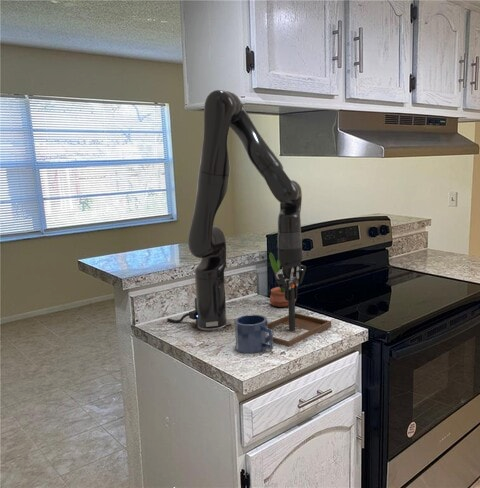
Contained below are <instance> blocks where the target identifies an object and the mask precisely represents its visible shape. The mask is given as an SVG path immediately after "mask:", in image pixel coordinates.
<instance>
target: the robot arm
mask: <svg viewBox="0 0 480 488" xmlns="http://www.w3.org/2000/svg"><path fill="white" fill-rule="evenodd" d="M230 129H231V130H232V132H234V134H235V135H236V136H237V138H238V139H239V141H240V142H241V145H242V147H243V148H244V151H245V153H246V155H247V157H248V159H249V161H250V162H251V163H252V165H253V167H254V168H255V169H256V171H257V172H258V173H259V174H260V176H261V177H262V178H263V180H264V181H265V183H266V185H267V187H268V189H269V190H270V192H271V194H272V195H273V197H274V198H275V199H276V200H277V201H278V202H279V213H278V216H277V241H276V242H277V260H279V261H280V270H279V271H278V273H274V272H273V278H274V279H275V281H276V283H277V285H278V287H279V288H283V289H284V290H285V300H287V301H292V289H291V287H292V283H293V284H294V294H295V299H296V300H297V299H298V295H299V294H298V293H299V292H298V290H299V289H298V288H299V286H300V285H301V284H302V283H303V280H304V278H305V273H306V271H307V266H306V265H303V264H302V263H301V261H302V260H303V237H302V222H301V221H302V220H301V210H302V201H303V200H302V199H303V191H302V187H301V185H300V183H298V181H296V180H293V179H291V178H290V177H289V176H288V174H287V173H286V172H285V170H284V166H283V163H282V162H281V161H280V160H279V158H278V157H277V156H276V154H275V153H274V152H273V151H272V149H271V148H270V146H269V144H268V143H267V142H266V141H265V140H264V138H263V136H262V135H261V134H260V132H259V131H258V129H257V128H256V126H255V125H254V122H253V121H252V119H251V118H250V116H249V114H248V112H247V110H246V108H245V106H244V104H243V102H242V101H241V98H239V96H238V95H237V94H236V93H234V92H232V91H228V90H224V89H223V90H221V89H215V90H213V91H211V92H210V93H209V94H208V95H207V96H206V98H205V101H204V108H203V137H202V145H201V146H202V147H201V154H200V162H199V167H198V174H197V175H198V176H197V187H196V195H195V201H194V208H193V214H192V219H191V223H190V228H189V231H188V237H187V247H188V251H189V252H190V253H191V255H192V256H193V257H195V258H197V259H200V261H199V263H198V264H197V265H196V267H195V268H194V280H195V281H194V282H195V284H194V285H195V298H194V309H193V310H191V311H188V312H187V313H185V314H183V315H182V316H181V317H180V318H179V319H173V318H167V319H166V321H167V322H171V323H175V324H177V323H181V322H183V320H184V319H185V318H186V317H188V318H189V319H191V320H194V321H195V327H197V328H198V330H200V331H206V332H213V331H214V330H219V329H222V328H225V327H227V326H228V322H227V303H226V286H225V270H226V266H227V240H226V235H225V233H224V231H223V230H222V229H221V228H220V227H219V226H216V225H214V223H215V217H216V214H217V212H218V210H219V208H220V206H221V204H222V203H223V202H224V201H223V200H224V199H225V197H226V195H227V192H228V188H229V182H230V174H231V162H230V155H229V149H228V135H229V130H230Z"/></svg>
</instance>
